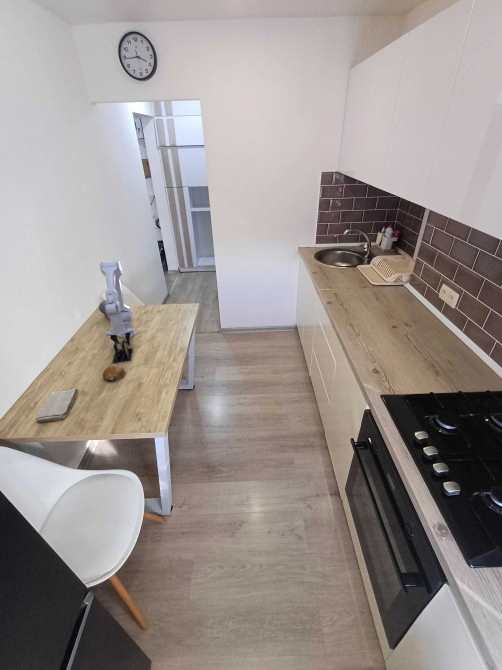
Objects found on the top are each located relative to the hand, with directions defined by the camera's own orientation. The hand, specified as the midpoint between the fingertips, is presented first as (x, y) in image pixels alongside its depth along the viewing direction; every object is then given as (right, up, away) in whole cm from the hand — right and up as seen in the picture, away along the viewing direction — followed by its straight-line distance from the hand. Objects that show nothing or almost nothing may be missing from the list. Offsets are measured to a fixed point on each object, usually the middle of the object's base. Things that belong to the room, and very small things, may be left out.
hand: (123, 345), depth 175 cm
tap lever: (+1, -1, -5) cm, 5 cm away
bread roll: (+3, -15, -19) cm, 24 cm away
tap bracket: (+2, -6, -5) cm, 8 cm away
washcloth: (-14, -26, -36) cm, 47 cm away
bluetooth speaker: (-19, +16, +33) cm, 41 cm away
